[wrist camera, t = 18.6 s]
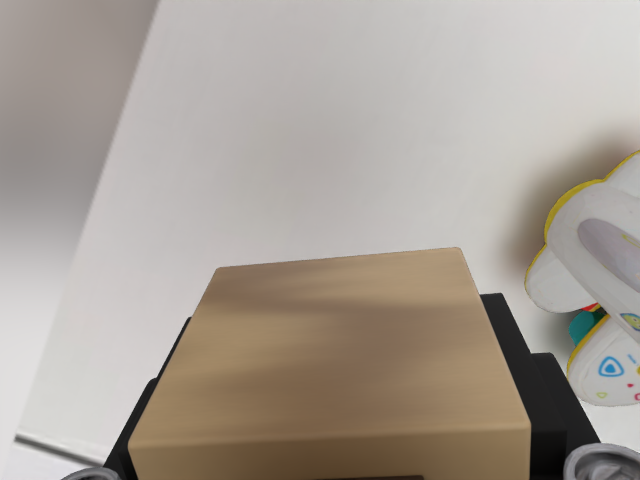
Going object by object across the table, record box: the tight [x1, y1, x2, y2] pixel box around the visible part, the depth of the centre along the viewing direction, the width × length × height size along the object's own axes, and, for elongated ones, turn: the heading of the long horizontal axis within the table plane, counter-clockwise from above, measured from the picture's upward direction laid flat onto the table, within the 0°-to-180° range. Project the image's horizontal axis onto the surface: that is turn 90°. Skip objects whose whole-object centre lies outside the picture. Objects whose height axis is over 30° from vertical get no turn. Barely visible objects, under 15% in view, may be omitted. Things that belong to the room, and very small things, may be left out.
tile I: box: [128, 247, 531, 480], centre depth 10 cm, size 5×5×5 cm
